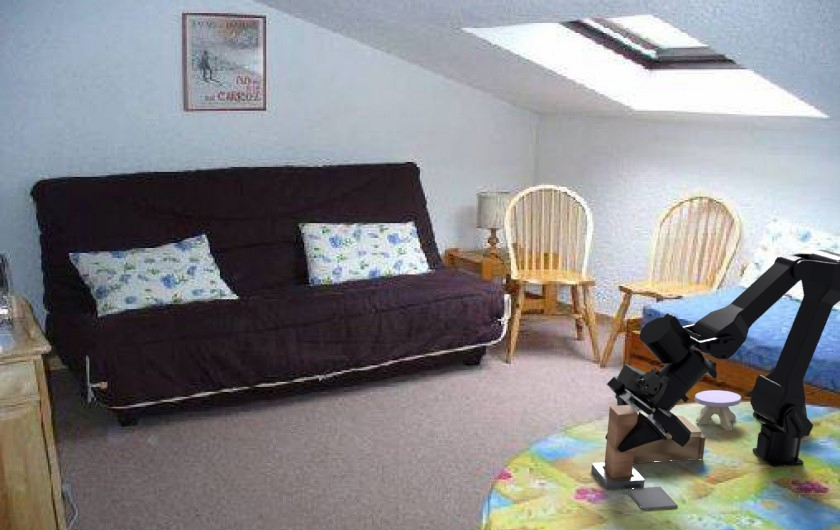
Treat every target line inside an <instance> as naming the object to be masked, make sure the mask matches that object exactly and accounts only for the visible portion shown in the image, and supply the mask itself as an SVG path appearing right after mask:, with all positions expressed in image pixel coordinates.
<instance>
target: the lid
mask: <svg viewBox="0 0 840 530" xmlns="http://www.w3.org/2000/svg"><path fill="white" fill-rule="evenodd" d="M676 416H677V417H678V418H679V419H680V420H681V422H682V423H683V424H684V425H685V426H686V427H687V428H688V429H689V430H690V431H691V437H701V434H702V431H701V430H700V429H699V428H698V427H697V426H695V425H694V423H692V422H691V421H690V420H688V419H687V418H686V417H685V416H684V415H676ZM666 437H667V439H672V436H671V435H670V434H669V433H668V434H667V435H666Z"/></svg>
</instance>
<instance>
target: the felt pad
mask: <svg viewBox="0 0 840 530" xmlns="http://www.w3.org/2000/svg"><path fill="white" fill-rule="evenodd" d="M627 491H628V492H627ZM626 492H627V493H628V494H629V493H630V494H629V495H630V497H631V498H632V497H633V498H634V499H635V500H634V499H633V498H632V499H633V500H634V502H635V503H636V504H637V503H638V504H639V505H638V504H637V505H638V506H639V507H640V506H641V507H642V508H641V507H640V508H641V510H642V509H643V510H642V511H648V510H647V509H651V510H660V509H659V508H664V509H675V508H678V507H679V506H678V504H677V503H676V502H675V501H674V499H672V497H671V496H670V495H669V494H668V493H667V492H666V491H665V489H663V488H662V486H649V487H648V486H647V487H644V488H634V489H626ZM644 509H646V510H644Z"/></svg>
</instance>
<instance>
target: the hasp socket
mask: <svg viewBox="0 0 840 530" xmlns="http://www.w3.org/2000/svg"><path fill="white" fill-rule="evenodd" d="M604 465H605V462H593V463H591V473H592V474H593V475H594V477H596V479H597V480H598V481H599V483H600V484H601V486H602V487H604V489H605V490H606V491H618V490H619V489H621V490H627V489H632V488H645V482H646V481H645V480H646V479H645V478H644V477H643V476H642V475H641V474H640V473H639V472H638V470H636V468H635V467H634V466H633V468H632V477H624V478H610V476H609V475H608V474H607V473H606V471H605V470H604Z"/></svg>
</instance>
